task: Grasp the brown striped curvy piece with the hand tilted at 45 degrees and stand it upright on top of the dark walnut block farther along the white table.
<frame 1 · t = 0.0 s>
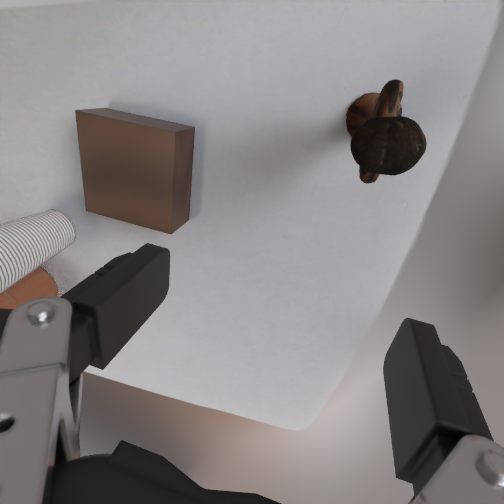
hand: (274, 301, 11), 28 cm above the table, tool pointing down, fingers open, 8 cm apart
cup: (61, 226, 50), on the table
walnut block: (149, 166, 41), on the table
potted plant: (37, 281, 58), on the table
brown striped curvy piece: (370, 122, 33), on the table
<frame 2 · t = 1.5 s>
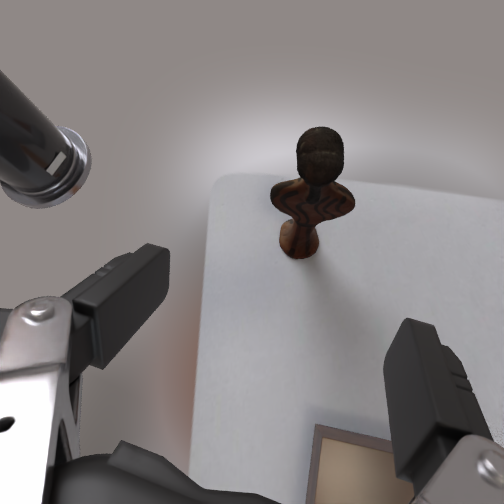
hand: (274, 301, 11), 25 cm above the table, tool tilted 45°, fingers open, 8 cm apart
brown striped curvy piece: (302, 239, 38), on the table
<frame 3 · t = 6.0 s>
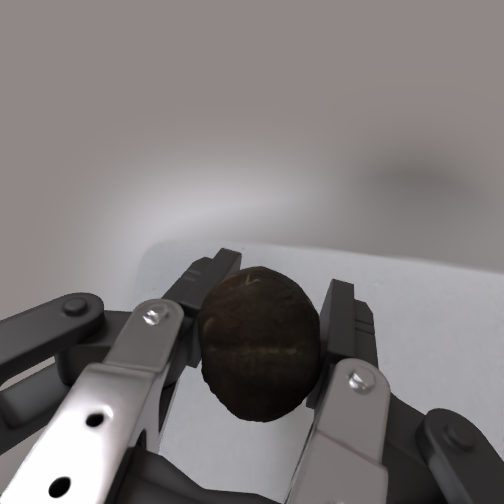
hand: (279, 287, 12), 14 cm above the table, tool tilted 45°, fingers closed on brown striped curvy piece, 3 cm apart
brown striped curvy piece: (271, 347, 25), on the table, touching gripper
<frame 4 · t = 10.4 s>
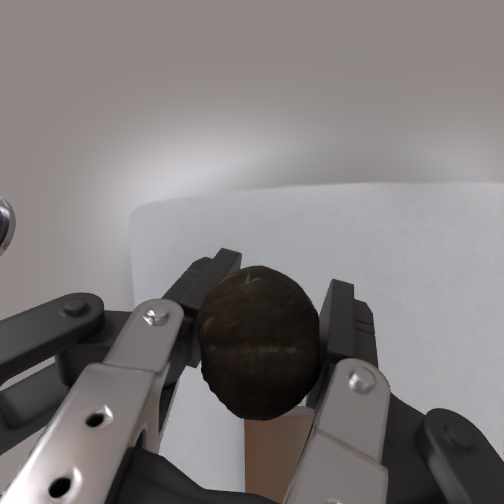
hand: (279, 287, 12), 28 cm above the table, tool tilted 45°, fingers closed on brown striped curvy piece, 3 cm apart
walnut block: (305, 467, 35), on the table
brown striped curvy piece: (269, 346, 25), point 14 cm above the table, touching gripper
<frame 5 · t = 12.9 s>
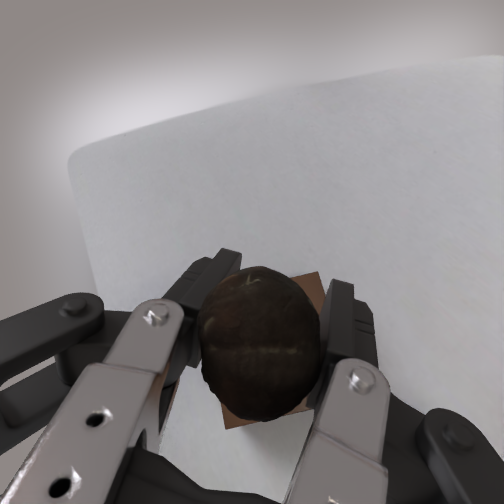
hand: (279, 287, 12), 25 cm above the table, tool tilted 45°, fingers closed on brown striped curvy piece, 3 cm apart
walnut block: (275, 346, 35), on the table
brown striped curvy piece: (268, 346, 25), point 11 cm above the table, touching gripper
when the fingers open (19 cm above the table, at t = 15.0 s): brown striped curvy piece stays where it is, resting on walnut block.
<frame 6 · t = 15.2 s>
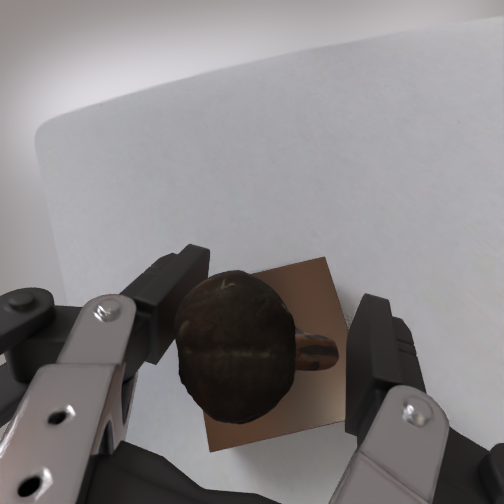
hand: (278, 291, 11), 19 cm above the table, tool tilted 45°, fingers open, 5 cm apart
walnut block: (272, 347, 29), on the table
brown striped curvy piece: (266, 348, 25), point 5 cm above the table, touching walnut block
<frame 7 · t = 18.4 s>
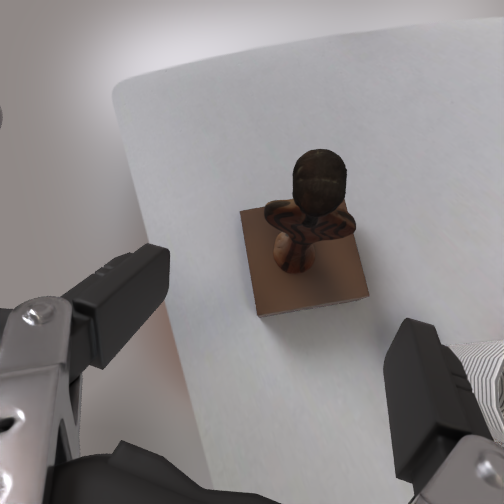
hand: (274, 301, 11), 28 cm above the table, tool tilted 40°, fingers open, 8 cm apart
cup: (438, 373, 36), on the table
walnut block: (298, 261, 40), on the table
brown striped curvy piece: (298, 252, 35), point 5 cm above the table, touching walnut block
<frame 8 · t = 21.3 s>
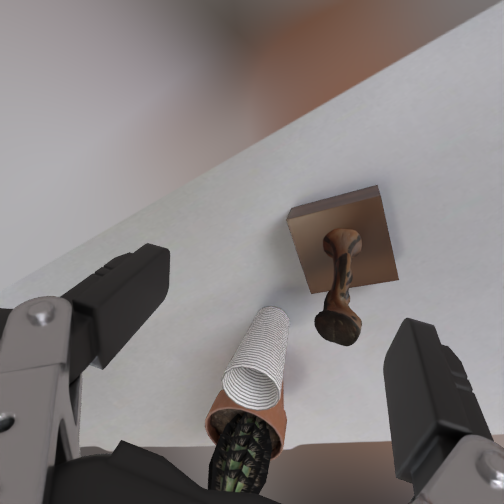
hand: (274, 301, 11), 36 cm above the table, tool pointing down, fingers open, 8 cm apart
cup: (273, 318, 57), on the table
walnut block: (342, 235, 47), on the table
potted plant: (261, 374, 64), on the table
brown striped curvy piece: (341, 246, 43), point 5 cm above the table, touching walnut block
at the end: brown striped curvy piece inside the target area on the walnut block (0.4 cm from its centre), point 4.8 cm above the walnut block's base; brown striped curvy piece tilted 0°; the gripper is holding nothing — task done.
